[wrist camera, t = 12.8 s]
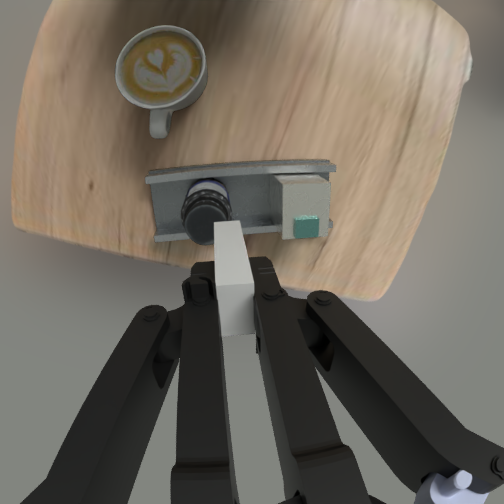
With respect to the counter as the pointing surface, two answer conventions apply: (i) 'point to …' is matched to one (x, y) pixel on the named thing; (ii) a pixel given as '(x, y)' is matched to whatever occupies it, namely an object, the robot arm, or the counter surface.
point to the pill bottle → (205, 210)
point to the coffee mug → (162, 73)
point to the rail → (251, 196)
